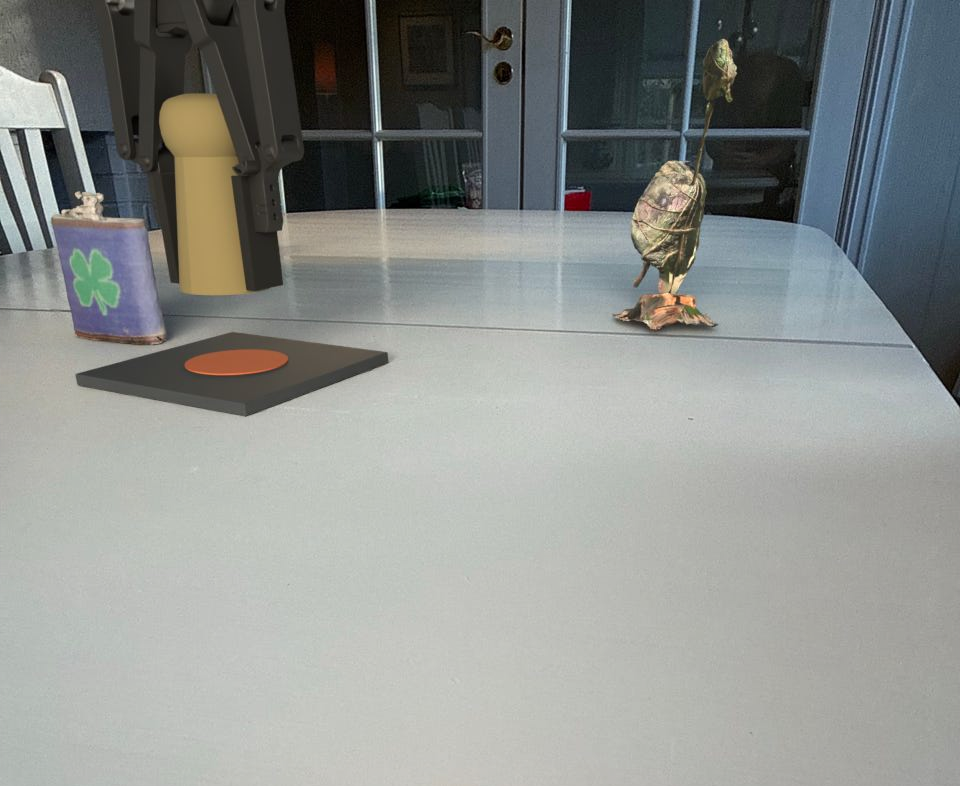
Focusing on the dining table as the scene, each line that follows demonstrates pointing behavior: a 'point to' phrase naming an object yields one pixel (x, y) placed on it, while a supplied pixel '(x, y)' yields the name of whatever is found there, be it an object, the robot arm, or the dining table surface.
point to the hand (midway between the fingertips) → (226, 283)
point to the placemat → (233, 372)
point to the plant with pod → (676, 216)
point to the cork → (204, 195)
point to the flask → (108, 274)
